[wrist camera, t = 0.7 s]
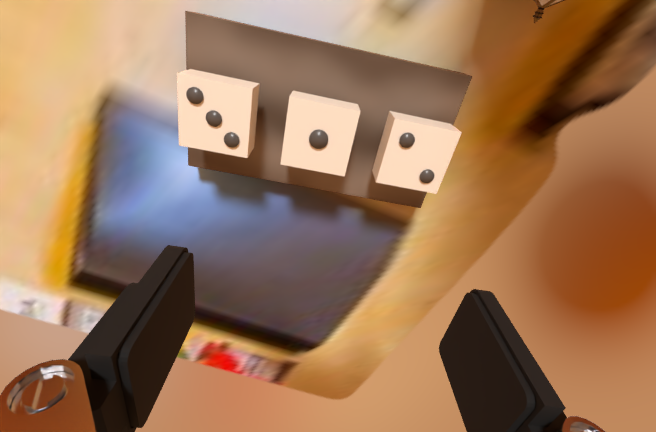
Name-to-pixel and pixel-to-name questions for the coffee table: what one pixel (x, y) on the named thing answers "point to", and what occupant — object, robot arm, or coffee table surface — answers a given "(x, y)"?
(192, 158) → the brown board
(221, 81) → the three dot tile
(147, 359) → the robot arm
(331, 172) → the single pip block
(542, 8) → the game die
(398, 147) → the two pip cube
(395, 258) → the coffee table surface
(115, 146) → the coffee table surface
